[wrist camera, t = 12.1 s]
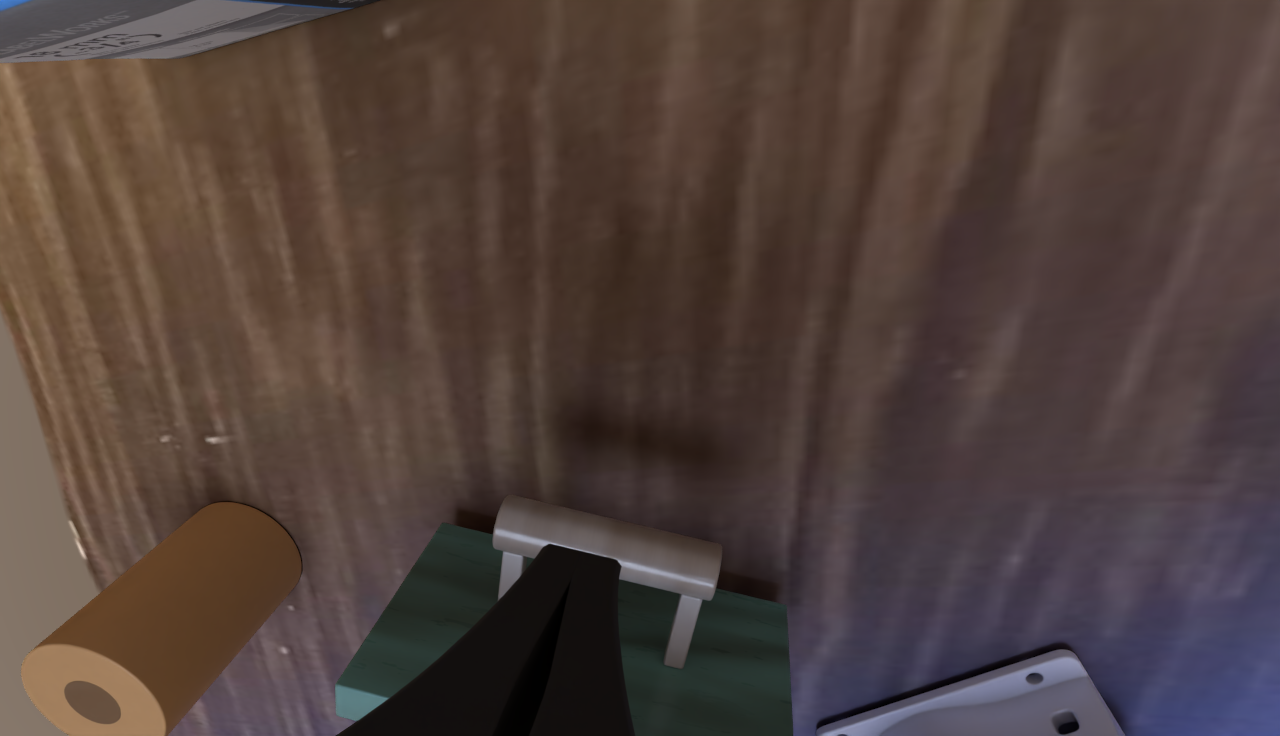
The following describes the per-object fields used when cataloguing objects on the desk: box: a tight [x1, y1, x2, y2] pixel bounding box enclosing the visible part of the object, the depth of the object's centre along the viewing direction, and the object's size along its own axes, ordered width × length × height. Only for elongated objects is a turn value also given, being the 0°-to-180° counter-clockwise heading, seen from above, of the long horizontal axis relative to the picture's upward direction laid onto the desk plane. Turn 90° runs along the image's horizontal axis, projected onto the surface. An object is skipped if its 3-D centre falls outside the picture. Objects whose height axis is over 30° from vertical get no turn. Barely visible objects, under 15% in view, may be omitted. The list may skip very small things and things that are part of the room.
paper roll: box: [21, 502, 302, 736], centre depth 24 cm, size 5×5×7 cm
